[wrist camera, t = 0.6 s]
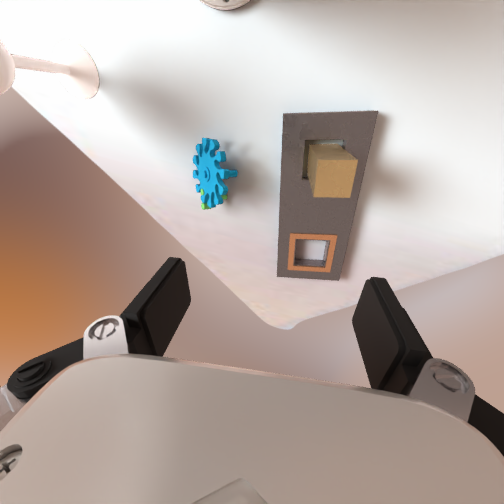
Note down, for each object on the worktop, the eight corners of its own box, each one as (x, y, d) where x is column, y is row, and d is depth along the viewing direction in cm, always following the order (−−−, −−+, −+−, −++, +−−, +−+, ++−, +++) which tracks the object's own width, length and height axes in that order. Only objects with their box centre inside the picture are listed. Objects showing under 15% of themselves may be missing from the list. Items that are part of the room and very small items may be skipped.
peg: (309, 144, 34) (318, 160, 24) (337, 143, 33) (358, 159, 23) (306, 171, 36) (313, 197, 26) (332, 171, 35) (350, 197, 25)
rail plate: (283, 113, 32) (283, 113, 30) (373, 110, 30) (378, 110, 29) (277, 270, 47) (276, 277, 45) (337, 274, 46) (339, 281, 44)
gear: (193, 124, 33) (226, 158, 28) (227, 128, 36) (262, 159, 32) (185, 190, 40) (211, 226, 35) (215, 188, 44) (241, 221, 39)
